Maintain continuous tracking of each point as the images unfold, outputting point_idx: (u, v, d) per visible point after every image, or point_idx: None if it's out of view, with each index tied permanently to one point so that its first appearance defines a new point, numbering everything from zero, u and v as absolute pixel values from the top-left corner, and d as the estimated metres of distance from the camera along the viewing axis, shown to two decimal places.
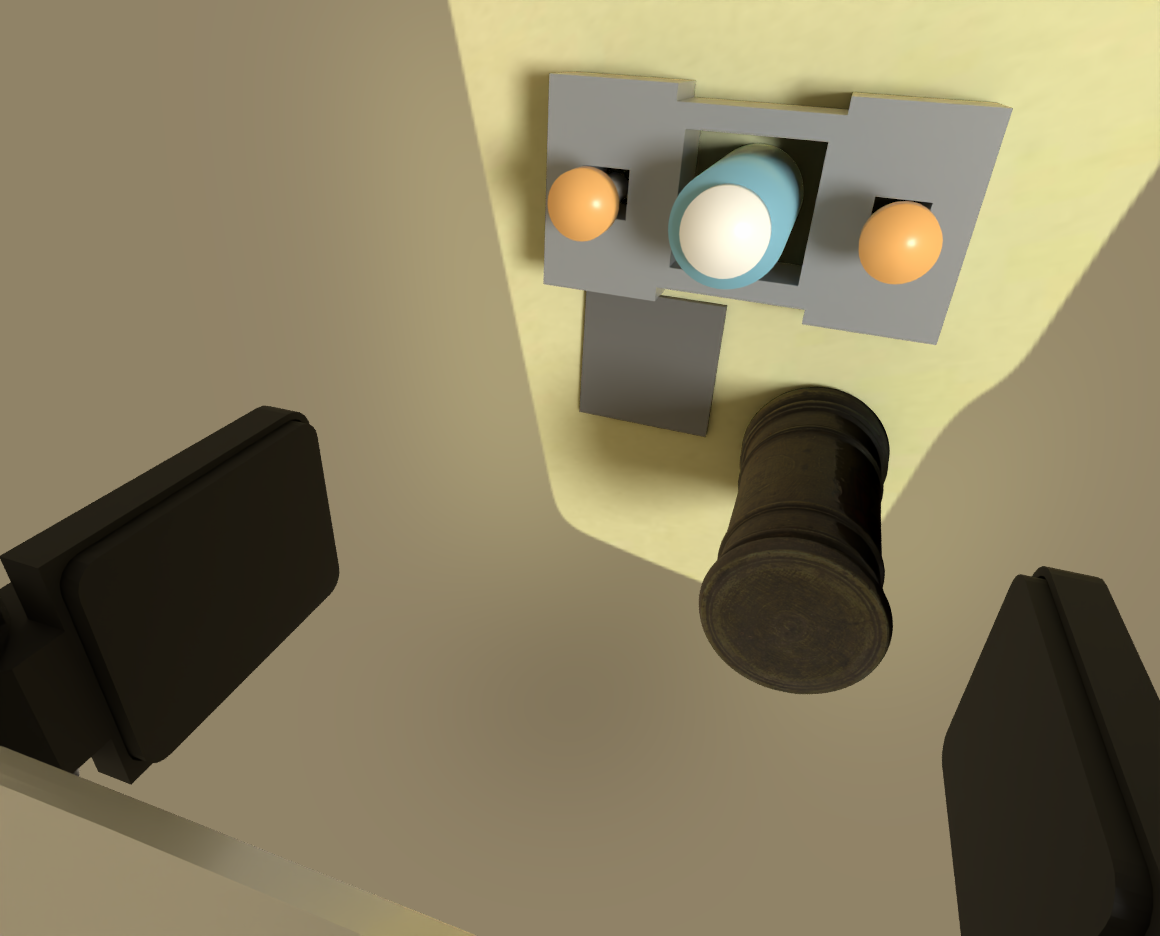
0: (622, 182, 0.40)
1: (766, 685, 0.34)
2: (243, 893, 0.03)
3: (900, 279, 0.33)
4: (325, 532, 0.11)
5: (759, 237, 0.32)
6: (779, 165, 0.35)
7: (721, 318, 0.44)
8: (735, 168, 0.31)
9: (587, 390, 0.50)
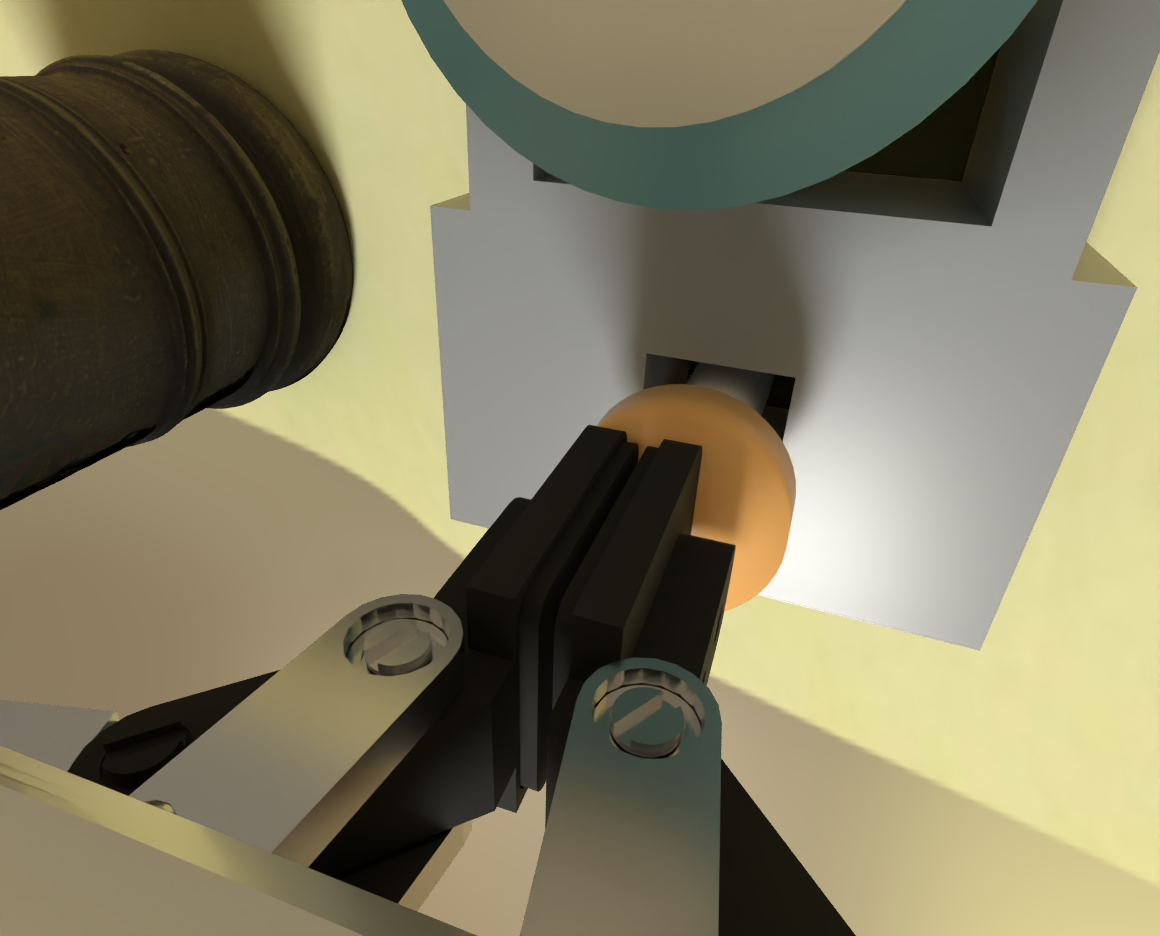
0: None
1: None
2: (243, 894, 0.03)
3: None
4: None
5: (649, 60, 0.05)
6: None
7: None
8: None
9: None
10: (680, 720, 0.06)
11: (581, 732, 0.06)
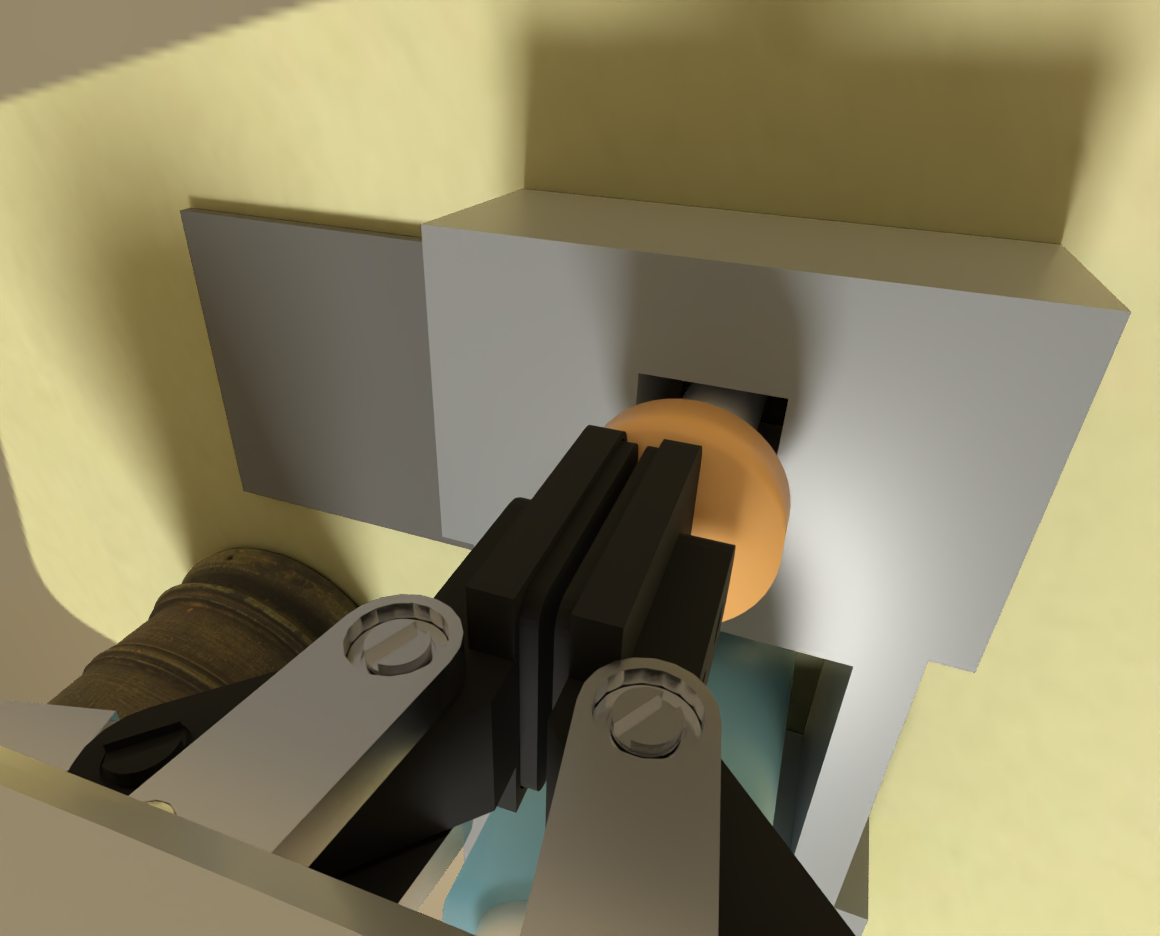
0: None
1: None
2: (244, 893, 0.03)
3: None
4: None
5: None
6: None
7: (464, 543, 0.22)
8: None
9: (235, 237, 0.19)
10: (680, 720, 0.06)
11: (580, 732, 0.06)
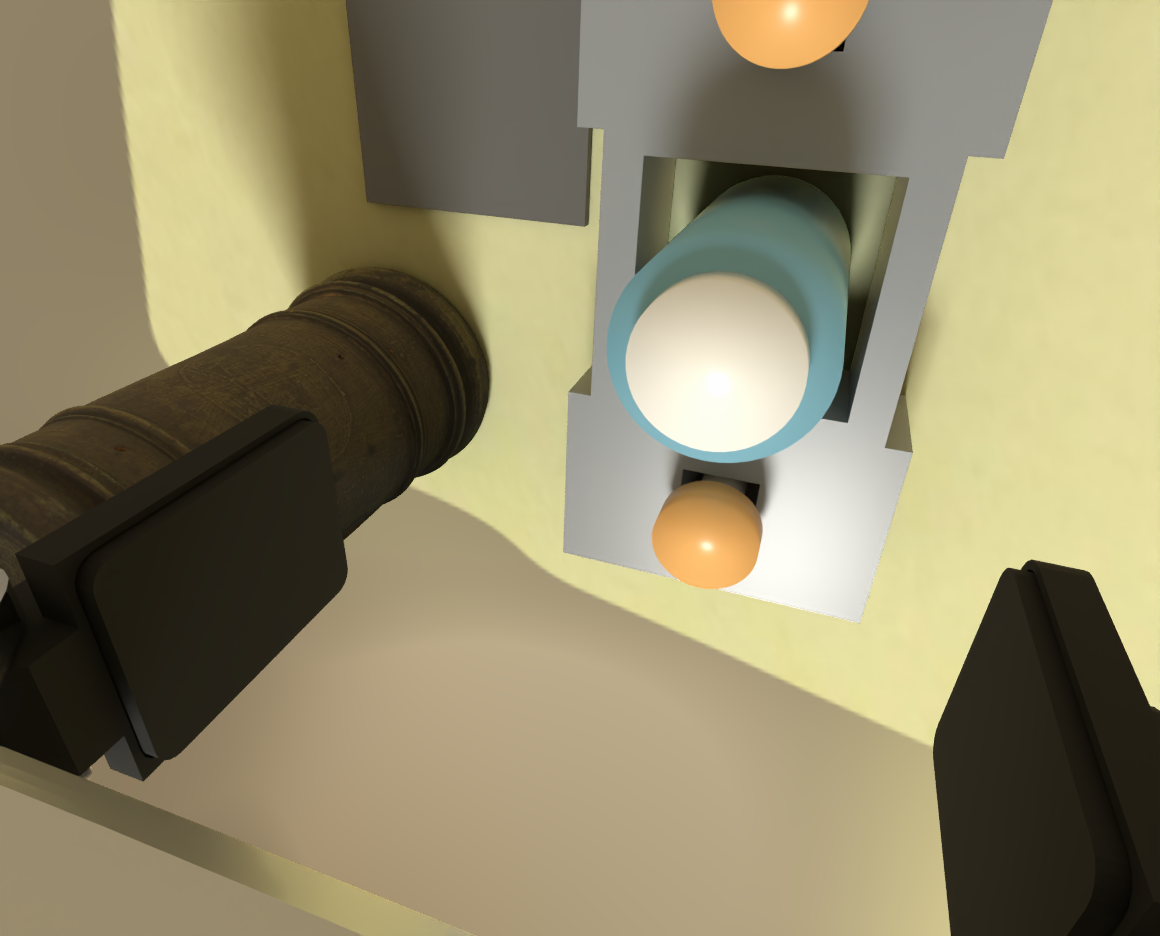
0: None
1: None
2: (243, 893, 0.03)
3: (658, 546, 0.24)
4: (334, 530, 0.11)
5: (705, 434, 0.17)
6: None
7: (565, 219, 0.26)
8: (837, 376, 0.16)
9: None
10: None
11: None
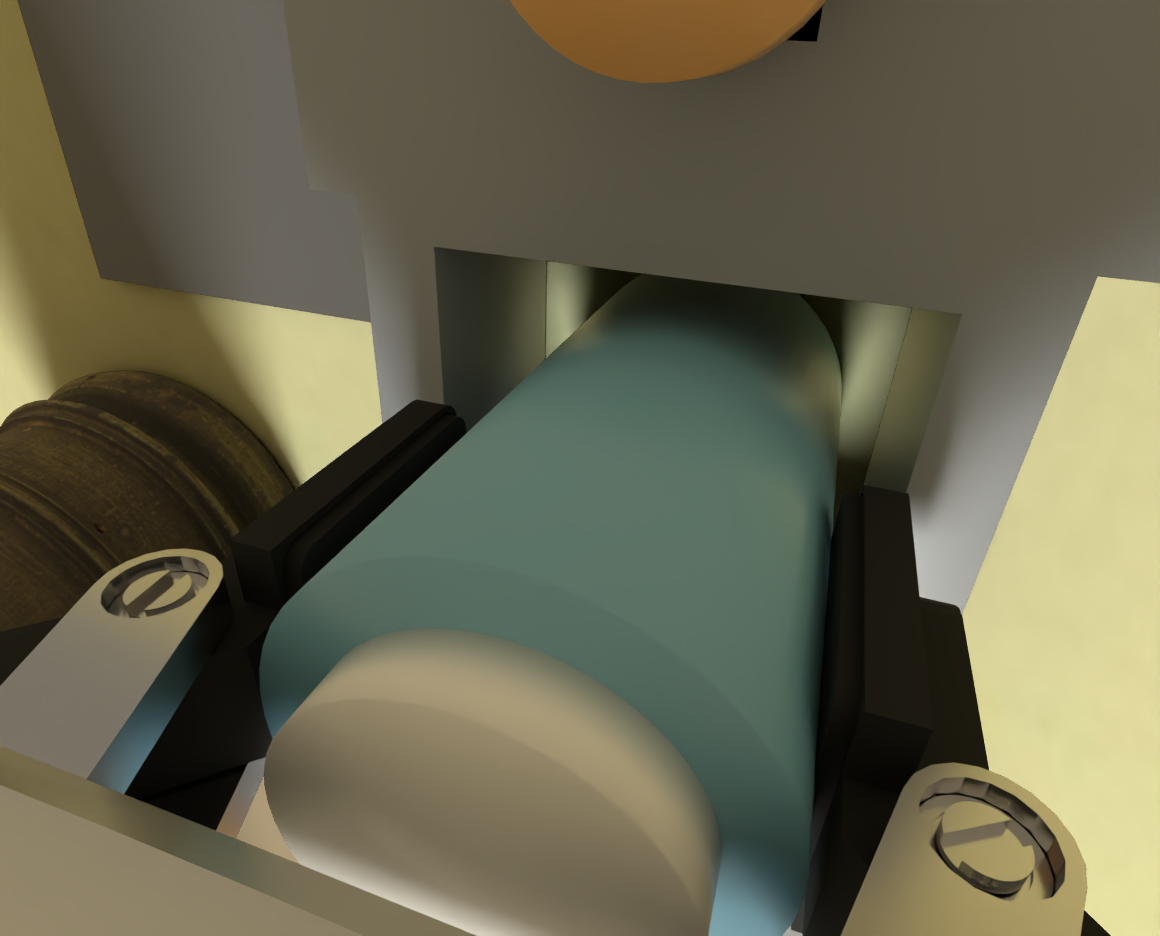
0: None
1: None
2: (243, 893, 0.03)
3: None
4: None
5: None
6: None
7: None
8: (795, 895, 0.06)
9: None
10: (1030, 862, 0.05)
11: (927, 866, 0.05)
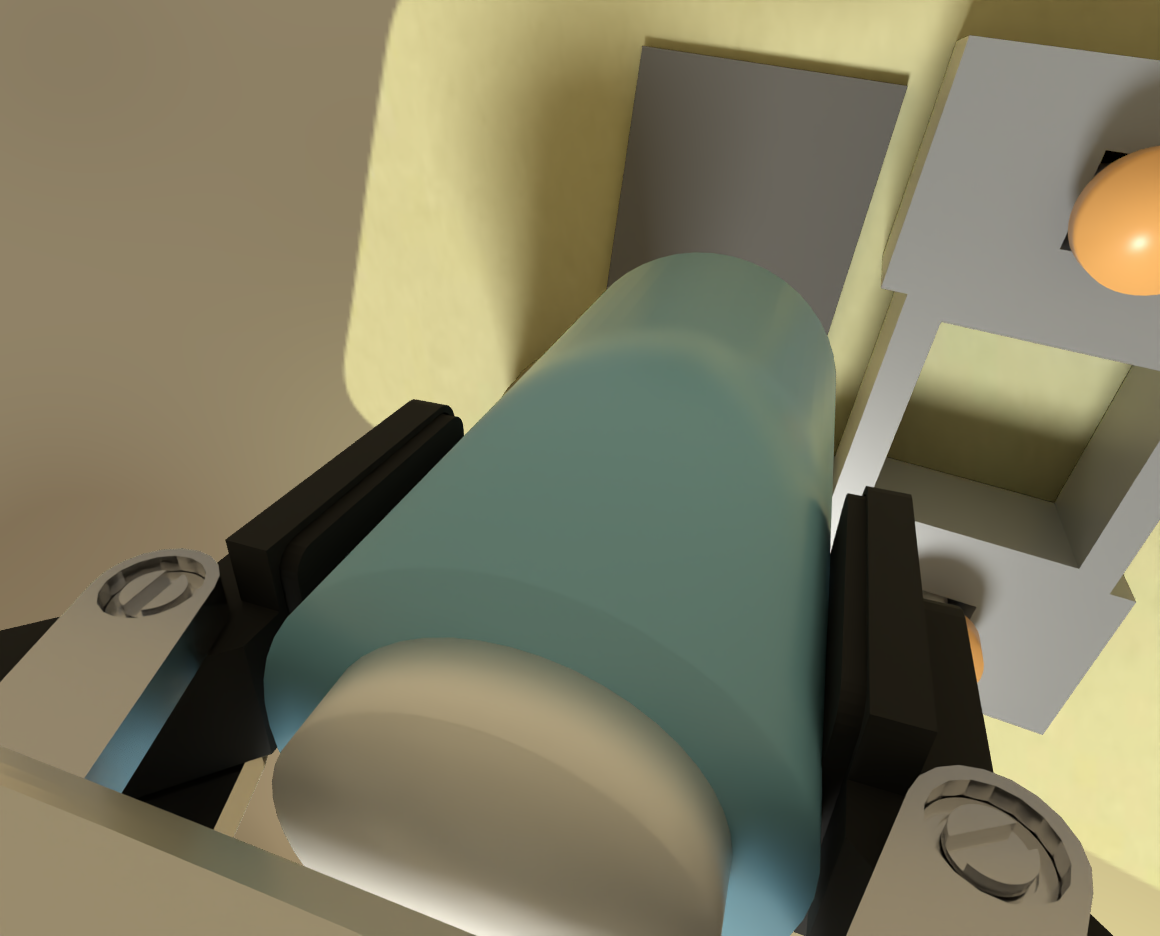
0: None
1: None
2: (243, 893, 0.03)
3: None
4: None
5: None
6: None
7: None
8: (805, 893, 0.06)
9: (686, 69, 0.25)
10: (1035, 866, 0.05)
11: (932, 869, 0.05)
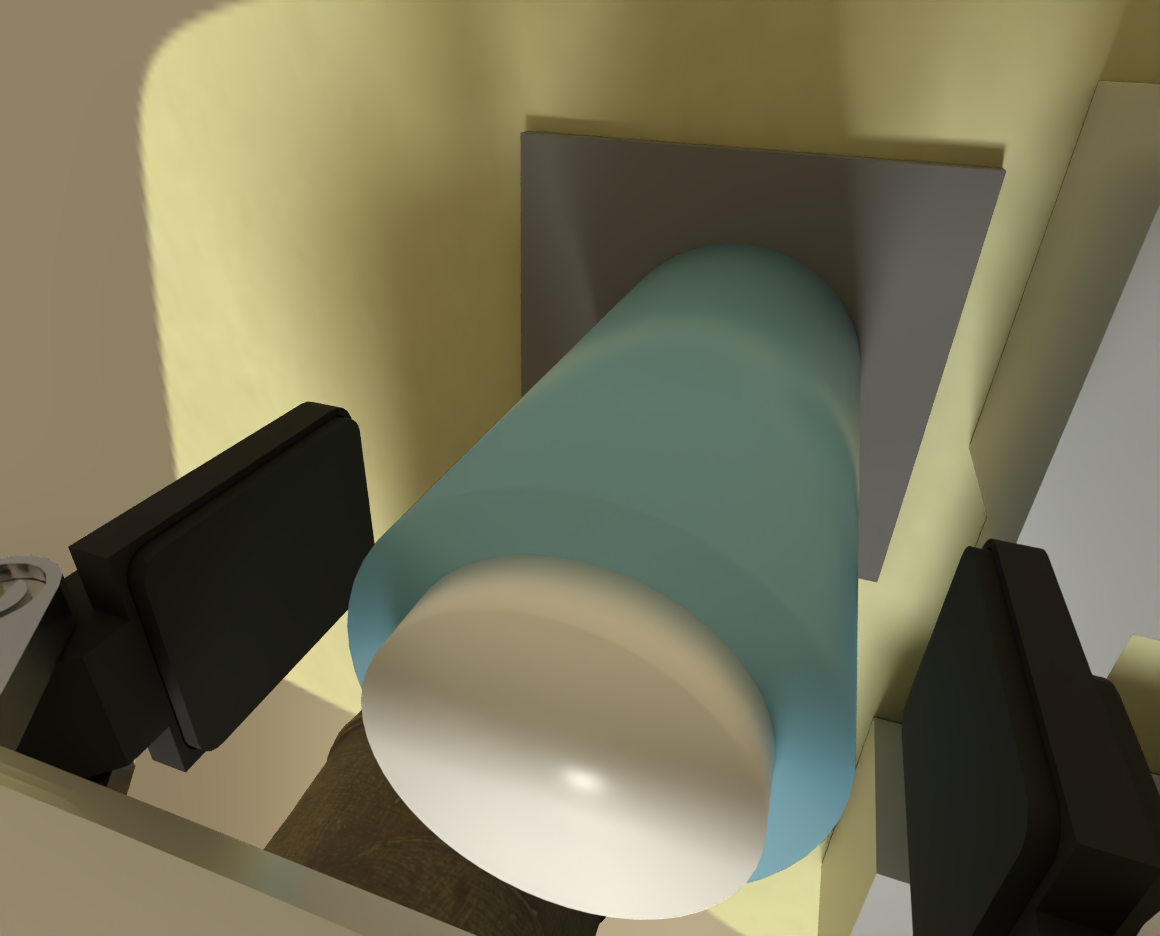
0: None
1: None
2: (243, 893, 0.03)
3: None
4: (365, 526, 0.11)
5: (549, 878, 0.08)
6: None
7: None
8: (842, 793, 0.07)
9: (600, 167, 0.14)
10: None
11: None
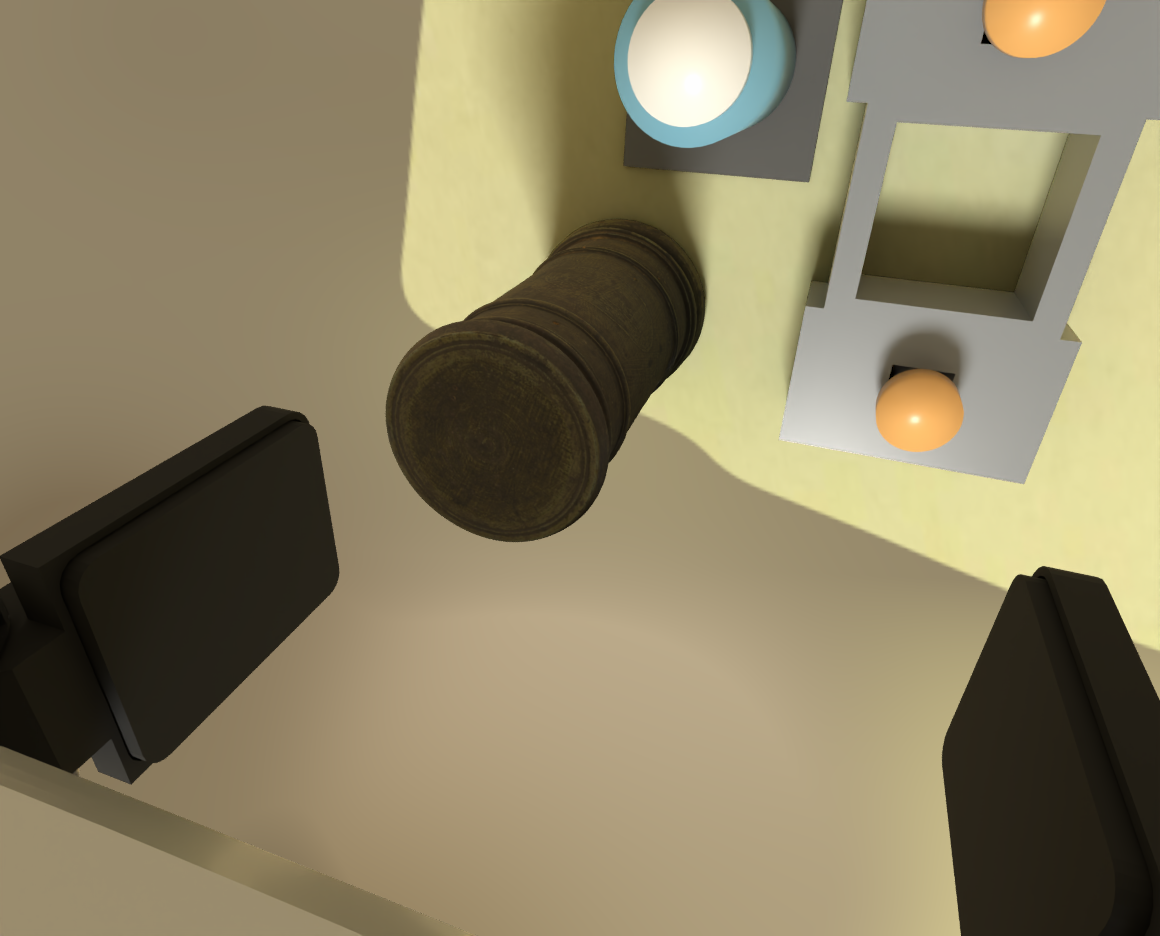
0: None
1: (388, 416, 0.26)
2: (242, 893, 0.03)
3: (881, 419, 0.31)
4: (325, 532, 0.11)
5: (682, 113, 0.24)
6: (768, 108, 0.29)
7: (793, 176, 0.34)
8: (771, 63, 0.23)
9: None
10: None
11: None
